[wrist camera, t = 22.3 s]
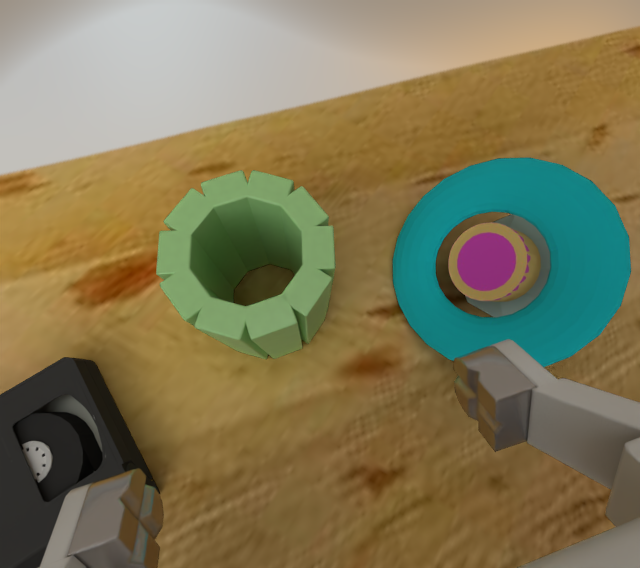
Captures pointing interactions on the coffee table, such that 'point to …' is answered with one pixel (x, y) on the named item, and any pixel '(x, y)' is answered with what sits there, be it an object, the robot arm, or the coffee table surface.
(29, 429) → the vhs tape
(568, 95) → the coffee table surface
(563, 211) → the ornament
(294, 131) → the coffee table surface
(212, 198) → the green hollow cylinder
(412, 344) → the coffee table surface
